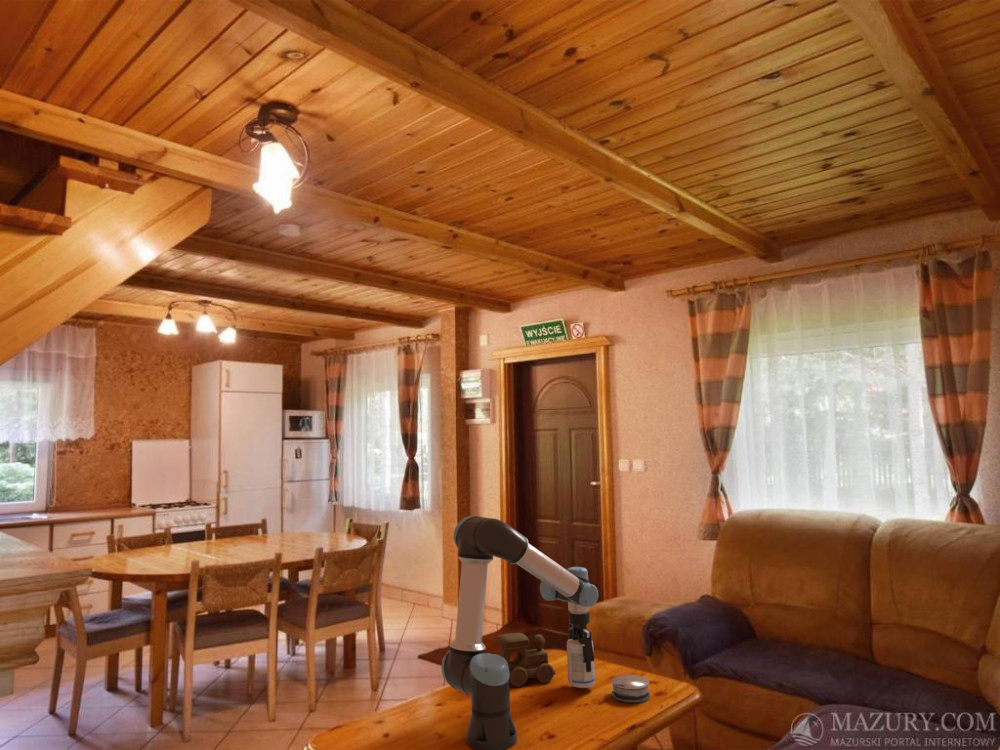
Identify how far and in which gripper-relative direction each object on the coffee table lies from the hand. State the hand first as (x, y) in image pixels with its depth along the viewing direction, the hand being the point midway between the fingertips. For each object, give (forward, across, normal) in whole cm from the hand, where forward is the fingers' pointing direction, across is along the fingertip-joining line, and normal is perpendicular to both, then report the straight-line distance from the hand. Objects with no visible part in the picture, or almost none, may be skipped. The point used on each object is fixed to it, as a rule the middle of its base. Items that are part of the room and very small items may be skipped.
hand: (581, 676), depth 235 cm
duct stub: (+4, -13, -12) cm, 18 cm away
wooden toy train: (+5, +16, +15) cm, 22 cm away
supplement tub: (+3, 0, 0) cm, 3 cm away
